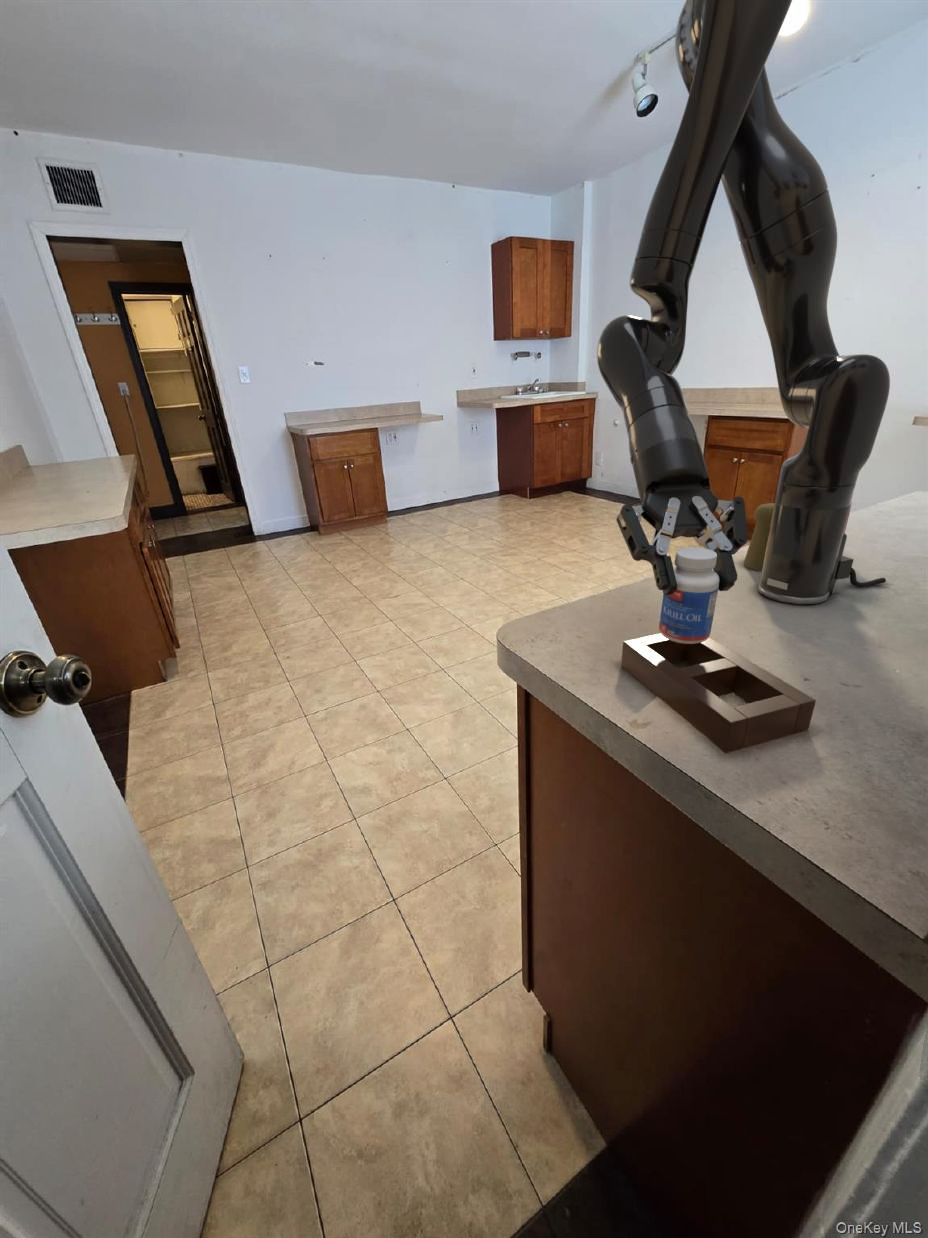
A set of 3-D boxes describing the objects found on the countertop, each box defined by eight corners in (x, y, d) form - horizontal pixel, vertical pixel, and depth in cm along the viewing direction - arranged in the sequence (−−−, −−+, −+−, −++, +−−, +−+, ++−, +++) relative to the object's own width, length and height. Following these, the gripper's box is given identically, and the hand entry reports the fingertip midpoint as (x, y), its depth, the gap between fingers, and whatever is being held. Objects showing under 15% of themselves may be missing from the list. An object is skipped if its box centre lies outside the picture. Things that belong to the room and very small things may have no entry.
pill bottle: (651, 638, 58) (660, 555, 54) (667, 620, 62) (676, 542, 58) (703, 650, 55) (716, 563, 51) (715, 630, 59) (729, 548, 54)
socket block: (688, 651, 66) (691, 626, 64) (808, 730, 50) (816, 700, 49) (621, 666, 64) (622, 641, 62) (725, 753, 48) (731, 722, 47)
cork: (786, 571, 89) (800, 508, 84) (748, 571, 90) (759, 508, 85) (775, 560, 94) (786, 500, 89) (739, 560, 95) (749, 500, 91)
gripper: (613, 440, 56) (643, 580, 50) (742, 431, 56) (787, 570, 51) (597, 480, 63) (621, 608, 57) (712, 473, 63) (748, 599, 58)
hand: (699, 589), depth 54 cm, fingers closed on pill bottle, 5 cm apart
